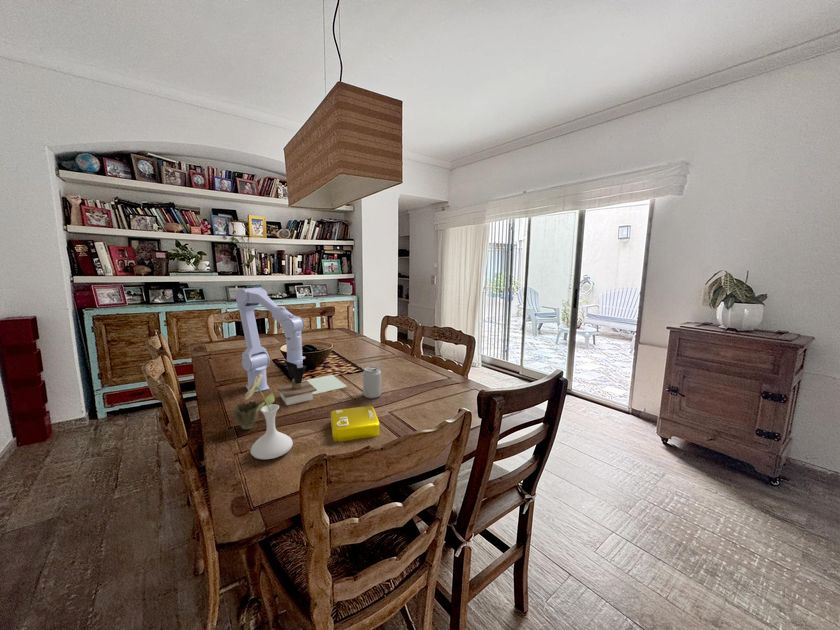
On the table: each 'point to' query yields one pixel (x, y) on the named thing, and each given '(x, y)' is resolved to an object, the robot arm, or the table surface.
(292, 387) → the lid
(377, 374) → the can
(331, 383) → the mat
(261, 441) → the flower in vase
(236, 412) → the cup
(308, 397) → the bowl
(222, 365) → the table surface
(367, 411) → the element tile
